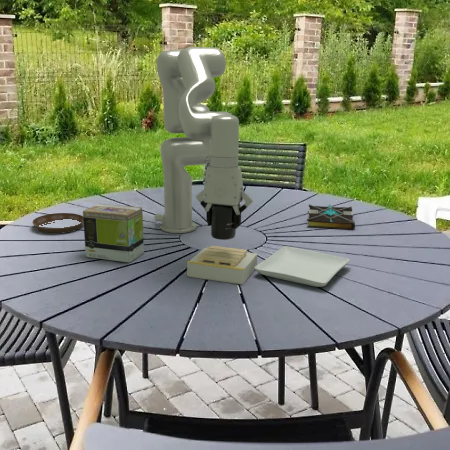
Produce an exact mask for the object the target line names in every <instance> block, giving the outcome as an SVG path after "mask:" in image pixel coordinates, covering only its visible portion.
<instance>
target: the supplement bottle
mask: <svg viewBox="0 0 450 450" xmlns="http://www.w3.org/2000/svg"><path fill="white" fill-rule="evenodd" d="M234 214H235V211H234V208H233V206H227V205H216V204H213V205H212V209H211V226H210V235H211V237H212V238H214V239H216V240H221V241H223V240H224V241H226V240H232V239H234V238H235V236H236V230H237V229H234V228H233V226H234Z"/></svg>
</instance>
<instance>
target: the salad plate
mask: <svg viewBox="0 0 450 450" xmlns="http://www.w3.org/2000/svg"><path fill="white" fill-rule="evenodd" d="M349 263H350V258H347V257H343V256H338V255H334V254H328V253H323V252H319V251H314V250H309V249H303V248H298V247H293V246H287V245H285V246H282V247H281V248H280V249H278V250H277V251H275V252H274V253H272V254H271V255H270V256H268V257H267V258H265V259H264V260H262V261H261V262H260V263H257V266H255V267H254V269H255V270H254V271H256V273H259V274H260V275H264V276H266V277H270V278H274V279H279V280H284V281H288V282H292V283H297V284H301V285H306V286H311V287H317V288H319V287H320V288H321V287H325V286H326V285H327V284H328V283H329V282H330V281H331V280H332V278H334V277H335V275H336V274H337V273H338V272H339V271H341V270H342V269H343V268H345V267H346V266H347V265H348V264H349Z"/></svg>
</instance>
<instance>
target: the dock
mask: <svg viewBox="0 0 450 450" xmlns="http://www.w3.org/2000/svg"><path fill="white" fill-rule="evenodd" d="M186 265H187V266H186V270H187V271H186V272H187V273H186V275H187V276H186V277H189V278H195V279H203V280H207V281H208V280H210V281H216V282H224V283H228V284H229V283H231V284H236V285H237V284H238V285H244V283H245V282H246V281H247V279H248V278H249V277H250V276H251V275H252V274H253V272H254V271H256V270H255V269H254V267H255V266H257V265H258V253H256V252H255V253H254V252H248V250H247V249H243V248H242V249H241V248H234V247H226V246H219V245H218V246H217V245H210V246H209V247H208V246H207V247H204V248H202V249H201V250H200V251H199V252H198V253H197V254H196V255H195V256H193V257H191V259H189V260H187V261H186Z"/></svg>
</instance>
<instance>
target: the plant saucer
mask: <svg viewBox="0 0 450 450" xmlns="http://www.w3.org/2000/svg"><path fill="white" fill-rule="evenodd" d="M63 219H72V220H77V221H79V222H81V223H80V224H78V225H75V226H70V227H64V228H45V227H39V225H41V226H43V225H42V224H44V225H47V224H51V223H48V222H52V221H55V220H63ZM45 223H46V224H45ZM53 223H55V222H53ZM32 224H33V226H34V227H35V228H36V230H38V231H39V232H41V233H44V232H45V233H44V234H50V233H60V234H63V233H62V232H68V231H72V232H74V231H73V230H75V231H77V230H79V229H80V228H81V227H83V226H84V222H83V215H82V214H79V213H74V212H73V213H72V212H57V213H47V214H43V215H40V216H38V217H35V218H34V219H33V220H32ZM78 228H79V229H78ZM76 229H77V230H76ZM68 233H69V232H68Z"/></svg>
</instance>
